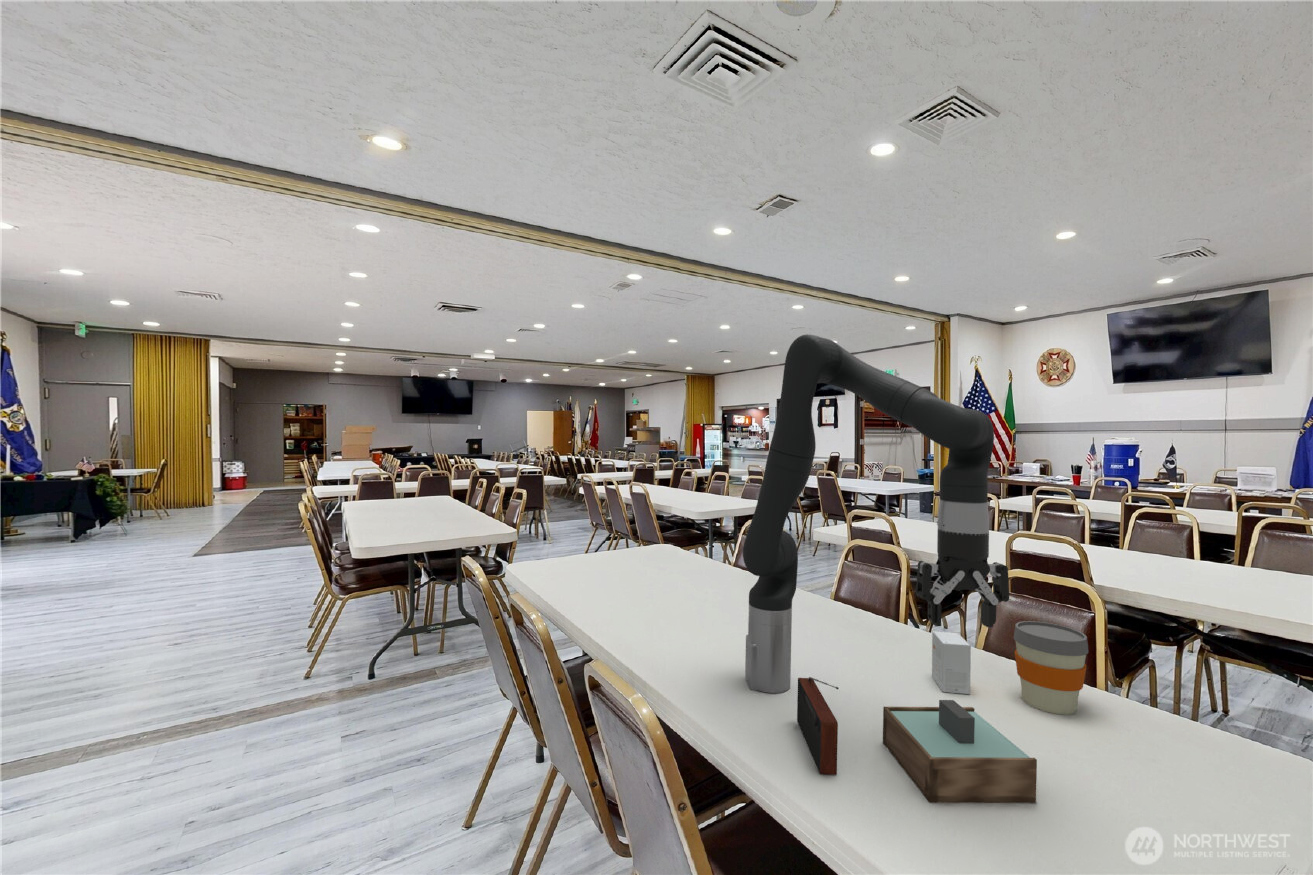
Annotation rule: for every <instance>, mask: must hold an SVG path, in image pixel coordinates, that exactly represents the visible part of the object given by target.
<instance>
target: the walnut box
mask: <svg viewBox="0 0 1313 875" xmlns="http://www.w3.org/2000/svg"><path fill="white" fill-rule="evenodd" d="M961 707H962V708H963V709H965V710H966V711H967V712H975V708H974V707H973V706H961ZM891 711H939V706H883V711H882V713H883V714H882V717H883V718H882V744H883V746H884V747H885V748H886V749H887V750H888V752H889V753H890V754H891V756H893V758H894V759H895V760H896V761H897V763H898V764H899V766H900V767H901V768H902V770H904V772H905V773H906V775H907V776H908V777H909V779H911V781H912V782H913V783H914V785H916V787H917V788H918V790H919V791H920V792H921V793H922V794H923V796H924V797H925V799H926V800H927V801H928V803H935V804H936V803H938V804H939V803H941V804H943V803H945V804H946V803H949V804H951V803H952V804H953V803H955V804H956V803H964V804H965V803H974V804H976V803H977V804H979V803H981V804H983V803H984V804H985V803H988V804H989V803H990V804H993V803H994V804H996V803H999V804H1003V803H1004V804H1013V803H1015V804H1016V803H1018V804H1021V803H1022V804H1028V803H1029V804H1036V803H1037V777H1038V776H1037V775H1038V774H1037V773H1038V771H1037V770H1038V769H1037V768H1038V766H1037V764H1038V760H1037V758H1036V757H1030V758H982V757H931V756H930V754H929V753H928V752H927V751H926V750H925V749H924V748H923V747H922V746H921V745H920V743H919V742H918V741H917V740H916V739H915V738H914V737H913V736H912V735H911V733H910V732H909V731H908V730H907V729H906V728H905V727H904V726H903V725H902V723H901V722H900V721H899V720H898V719H897V718H896V717H895V716H894V715H893V714H892V712H891Z"/></svg>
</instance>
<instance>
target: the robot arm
mask: <svg viewBox="0 0 1313 875" xmlns="http://www.w3.org/2000/svg"><path fill="white" fill-rule="evenodd" d="M818 384H826V385H830V386H834V387H837V388H840V389H844V390H846V391H848V392H850V393H852V394H855V395H856V396H858V397H859V398H861V399H862V400H863V401H865V402H866V403H867V404H869V405H870V406H871V407H873V408H874V409H876V410H878V411H879V412H881V413H883V414H884V415H887V416H889V417H890V418H892V419H894V420H896V421H898V422H900V423H903V424H904V425H906V426H907V427H908V426H909V427H911V428H913V429H915V430H916V431H918V433H920V434H922V435H923V436H925V437H926V438H928V439H929V440H931V441H933V442H934V443H936V444H938V445H939V446H941V447H943V448H945V449H948V458H947V463H946V465H945V466H944V467H943V468H942V470H941V471H940V475H939V505H938V509H937V521H936V525H937V534H936V535H937V541H936V542H937V544H936V546H937V561H936V562H935V563H931V562H925V561H924V560H920V561H918V563H917V574H916V585H915V594H916V596H917V597H919V598H921V599H923V600H925V601H927V619H928V621H929V622H930V623H931V624H932V625H933V626H935V627H941V626H942V604H941V602H942V601H943V599H945V597H946V596H948V595H949V594H950V593H952V591H953V590H955V591H964V590H966V591H967V590H968V591H976V592H977V593H978V594H979V595H980V597H981V599H983V601H981V603H980V604H981V607H980V608H981V613H980V614H981V616H980V619H981V620H980V621H981V625H982V626H984V627H986V628H993V627H994V625H995V624H996V622H997V605H998V604H999V603H1002V602H1005V603H1006V602H1008V601H1010V586H1009V585H1010V584H1009V568H1008V565H1005V564H1003V563H999V562H996V561H995V562H992V563H990V564H989V562H988V558H989V557H990V556H989V554H990V545H989V544H990V515H989V514H990V513H989V506H988V503H989V502H988V498H989V497H988V496H989V494H988V493H989V492H988V491H989V488H988V486H989V482H988V481H989V480H988V475H989V474H988V472H989V470H990V469H989V468H990V465H991V459H992V456H993V450H994V441H995V431H994V426H993V422H992V420H991V418H990V417H989V416H988V415H987V414H986V413H984V412H983V411H981V410H977V409H972V408H964V407H962V406H959V405H956V404H954V403H952V402H949V401H947V400H946V399H942V398H940V397H938V395H936V393H934V392H932V391H930V390H929V389H927V388H925V387H923V386H920V385H917V384H915V383H913V382H910V381H909V380H908V379H907V380H906V379H904V378H901V377H900V376H896V375H894V374H891V373H889V372H887V371H885V370H884V371H883V370H882V369H879V368H876V367H874V366H872V365H871V364H868V363H866V362H865V361H863V360H861V359H860V358H858V357H857V356H855V355H854V354H852V353H851V352H849V351H848V350H846V348H843V347H842V346H841V345H839V344H838V343H836V342H835V341H834V340H832V339H828V338H826V337H823V336H817V335H814V334H803V335H800V336H798V337H797V338H795V339H794V340H793V342H791V344H790V345H789V348H788V350H787V352H786V356H785V361H784V367H783V376H782V384H781V394H780V399H779V405H778V410H777V414H776V419H775V424H774V428H773V433H772V437H771V441H770V444H769V448H768V454H767V458H766V463H765V468H764V473H763V476H762V477H763V478H762V481H761V486H760V490H759V494H758V498H757V502H756V507H755V509H754V512H753V515H752V518H751V522H750V524H749V528H748V530H747V533H746V536H745V539H744V542H743V547H742V559H743V564H744V565H745V568H746V569H747V570H748V571H749V573H750V574H752V575H753V576H757V577H758V579H757V581H756V582H755V584H754V585H753V586H752V587H751V588H750V589H749V591H748V592H749V593H748V619H747V620H748V624H747V625H748V627H747V629H748V630H747V634H746V635H745V670H744V671H745V672H744V676H745V677H744V678H745V681H746V683H747V685H748V688H749V689H750V690H755V691H758V692H763V693H769V694H777V693H784V692H787V691H788V690H790V688H791V679H792V674H791V672H792V670H791V668H792V666H791V665H792V625H793V624H792V623H793V622H792V621H793V620H792V619H793V598H794V596H795V593H796V591H797V584H798V583H797V582H798V569H799V567H798V566H799V563H798V562H799V551H798V546H797V544H796V541H795V539H794V537H793V536H792V535H791V534H790V533H789V532H787V531H786V530H784V527H785V522H786V520H787V518H788V516H789V513H790V511H791V509H792V507H794V504H796V502H797V500H798V499H799V497H800V495H801V493H802V492H803V491H804V489H805V488H806V485H807V482H808V481H809V478H810V475H811V472H812V471H811V470H812V467H813V463H814V459H815V455H816V454H815V453H816V445H817V444H816V436H815V435H816V434H815V429H814V422H813V421H814V420H813V416H812V415H813V414H812V413H813V410H812V409H813V402H814V397H815V394H816V389H817V385H818ZM935 572H936V573H937V574H938V575H939V576H938V577H937V578H936V579H935V581H934V582H933V584H932V577H934V575H935ZM989 574H990V576H991V577H992V588H991V586H990V585H989V584H988V583H987V581H986V580H985V579H986V578H987V576H988V575H989ZM931 586H932V588H931Z"/></svg>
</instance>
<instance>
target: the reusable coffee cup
mask: <svg viewBox="0 0 1313 875" xmlns="http://www.w3.org/2000/svg"><path fill="white" fill-rule="evenodd" d="M1013 640H1014V641H1015V646H1016V647H1015V648H1016V649H1015V650H1014V656H1015V658H1014V659H1015V665H1016V672H1017V676H1019V679H1020V680H1019V681H1020V685H1021V686H1020V687H1021V695H1022V700H1023V701H1024V702H1025V703H1026V704H1027V705H1029V706H1031V707H1033V708H1034V709H1037V710H1040V711H1043V712H1047V713H1050V714H1055V715H1064V716H1065V715H1068V716H1069V715H1072V714H1075V713H1076V712H1077V706H1078V701H1079V696H1080V690H1082V689H1083V688H1084V684H1085V678H1086V672H1087V668H1088V667H1087V663H1085V662H1086V658H1087V655H1088V654H1089V643H1088V637H1087V635H1086V634H1085V633H1083V632H1081V631H1079V630H1077V629H1075V628H1072V627H1069V626H1064V625H1060V624H1055V623H1052V622H1045V621H1037V620H1023V621H1019V622H1016V623H1015V626H1014V634H1013Z"/></svg>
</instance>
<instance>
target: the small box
mask: <svg viewBox="0 0 1313 875" xmlns="http://www.w3.org/2000/svg"><path fill="white" fill-rule="evenodd" d="M931 634H932V635H931V637H932V638H931V645H932V646H931V648H932V649H931V653H932V654H931V677H932V679H933V681H934V682H935V683H936V684H937V685H938V687H939V689H940V690H941V692H943V693H952V694H962V695H971V655H972V654H971V647H972V646H971V644H970V643H968V641H967V640H966V639H965V638H963V637H962V635H960V633H958V632H948V631H947V632H946V631H935V630H933V631H932V633H931Z"/></svg>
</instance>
